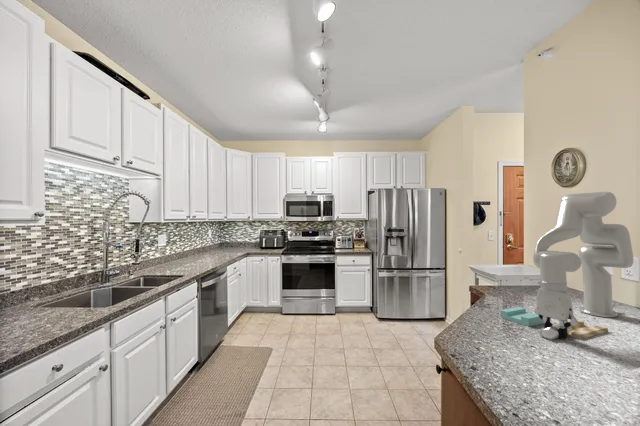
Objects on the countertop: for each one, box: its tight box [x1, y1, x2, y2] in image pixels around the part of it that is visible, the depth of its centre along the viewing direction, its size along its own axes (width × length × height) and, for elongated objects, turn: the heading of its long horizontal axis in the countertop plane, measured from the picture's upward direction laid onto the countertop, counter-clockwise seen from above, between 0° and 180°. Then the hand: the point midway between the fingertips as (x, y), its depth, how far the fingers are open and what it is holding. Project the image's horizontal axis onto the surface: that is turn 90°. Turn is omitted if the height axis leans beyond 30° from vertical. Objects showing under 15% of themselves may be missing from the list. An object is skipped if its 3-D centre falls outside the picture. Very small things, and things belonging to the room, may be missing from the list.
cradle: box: [499, 306, 544, 328], centre depth 122 cm, size 12×12×4 cm
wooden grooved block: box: [552, 318, 609, 340], centre depth 110 cm, size 18×10×2 cm, turn 110°
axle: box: [539, 322, 572, 341], centre depth 105 cm, size 12×4×4 cm, turn 111°
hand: (555, 335), depth 105 cm, fingers closed on axle, 4 cm apart
